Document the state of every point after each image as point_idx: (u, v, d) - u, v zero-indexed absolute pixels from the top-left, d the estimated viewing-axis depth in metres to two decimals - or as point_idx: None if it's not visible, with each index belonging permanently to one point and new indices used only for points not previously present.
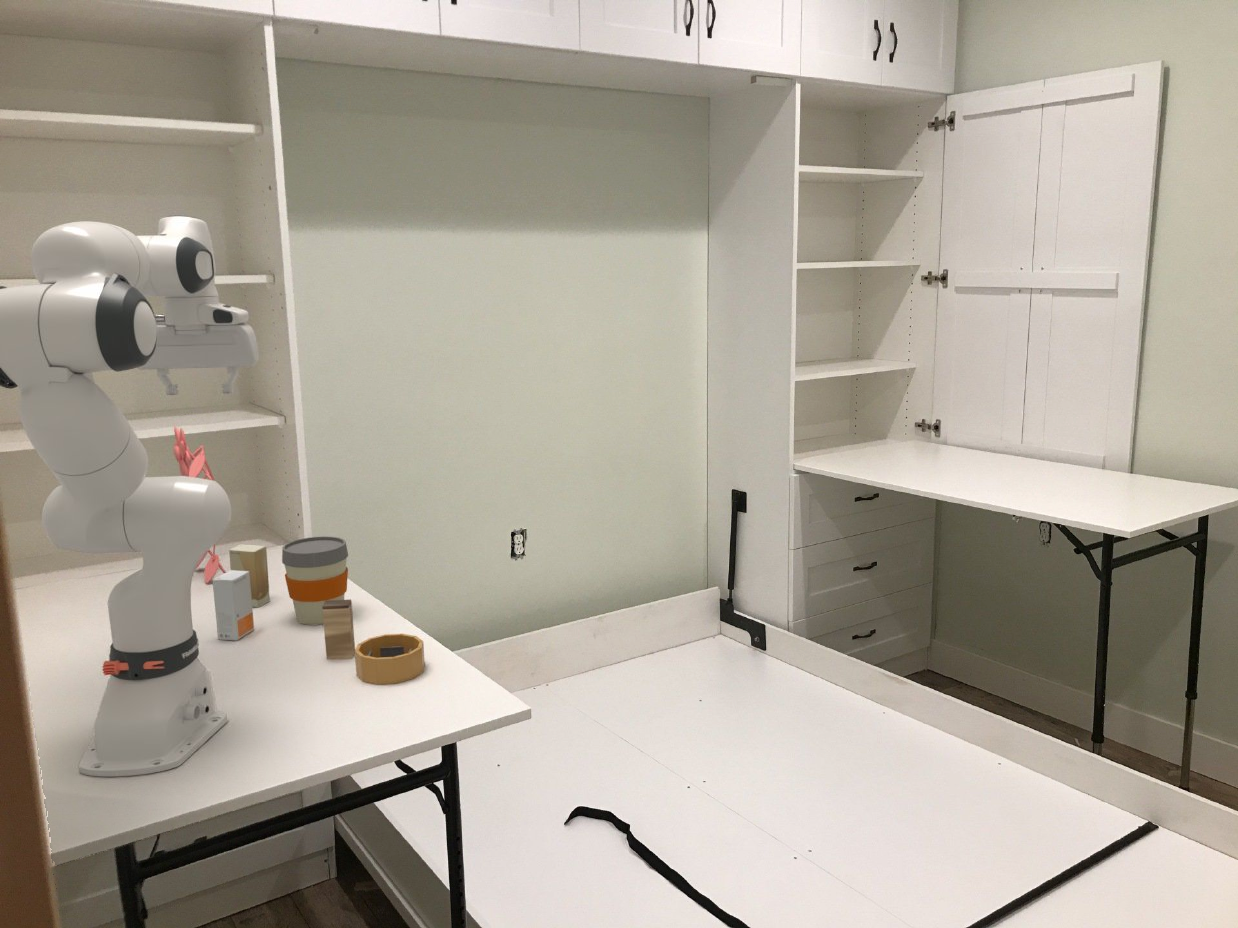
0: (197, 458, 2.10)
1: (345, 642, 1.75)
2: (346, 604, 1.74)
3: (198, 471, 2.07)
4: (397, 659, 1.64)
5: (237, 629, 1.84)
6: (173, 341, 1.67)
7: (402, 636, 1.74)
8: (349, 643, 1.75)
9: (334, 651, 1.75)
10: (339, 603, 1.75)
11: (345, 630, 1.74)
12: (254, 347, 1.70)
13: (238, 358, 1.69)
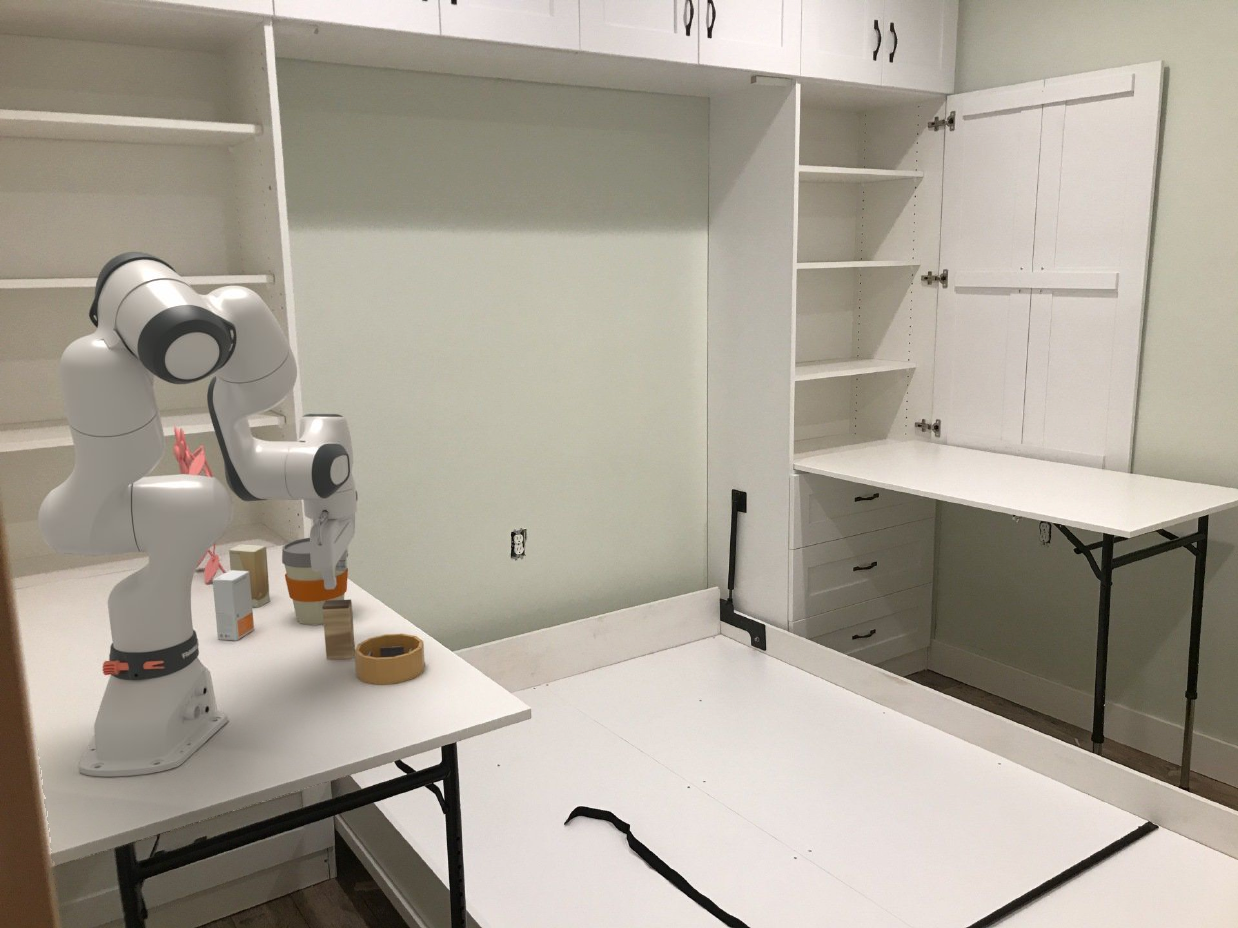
0: (197, 458, 2.10)
1: (345, 642, 1.75)
2: (346, 604, 1.74)
3: (198, 471, 2.07)
4: (397, 659, 1.64)
5: (237, 629, 1.84)
6: (337, 533, 1.69)
7: (402, 636, 1.74)
8: (349, 643, 1.75)
9: (334, 651, 1.75)
10: (339, 603, 1.75)
11: (345, 630, 1.74)
12: None
13: (352, 532, 1.80)
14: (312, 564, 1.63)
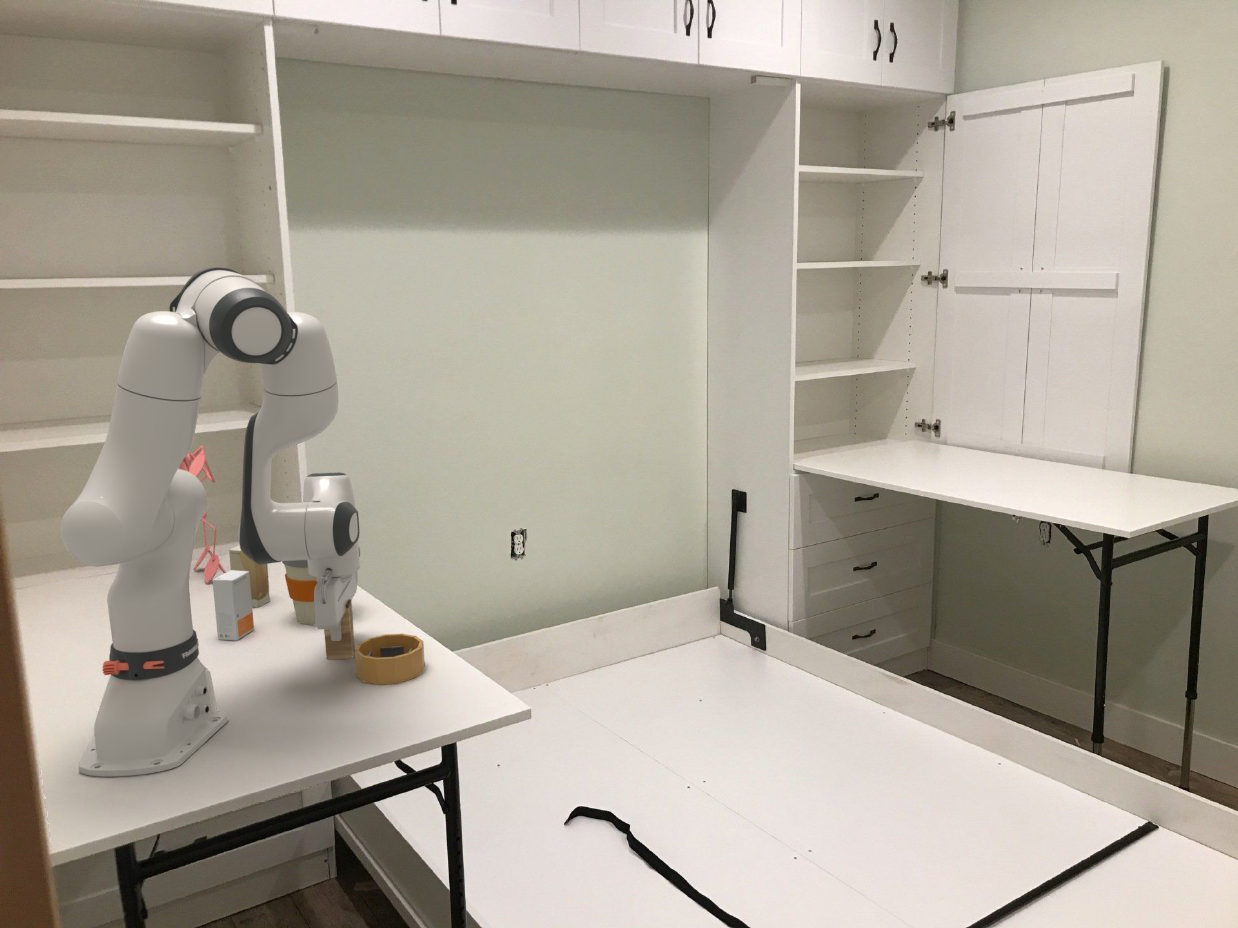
0: (197, 458, 2.10)
1: (345, 642, 1.75)
2: (346, 604, 1.74)
3: (198, 471, 2.07)
4: (397, 659, 1.64)
5: (237, 629, 1.84)
6: (340, 590, 1.71)
7: (402, 636, 1.74)
8: (349, 643, 1.75)
9: (334, 651, 1.75)
10: None
11: (345, 630, 1.74)
12: None
13: (354, 588, 1.82)
14: (316, 622, 1.65)
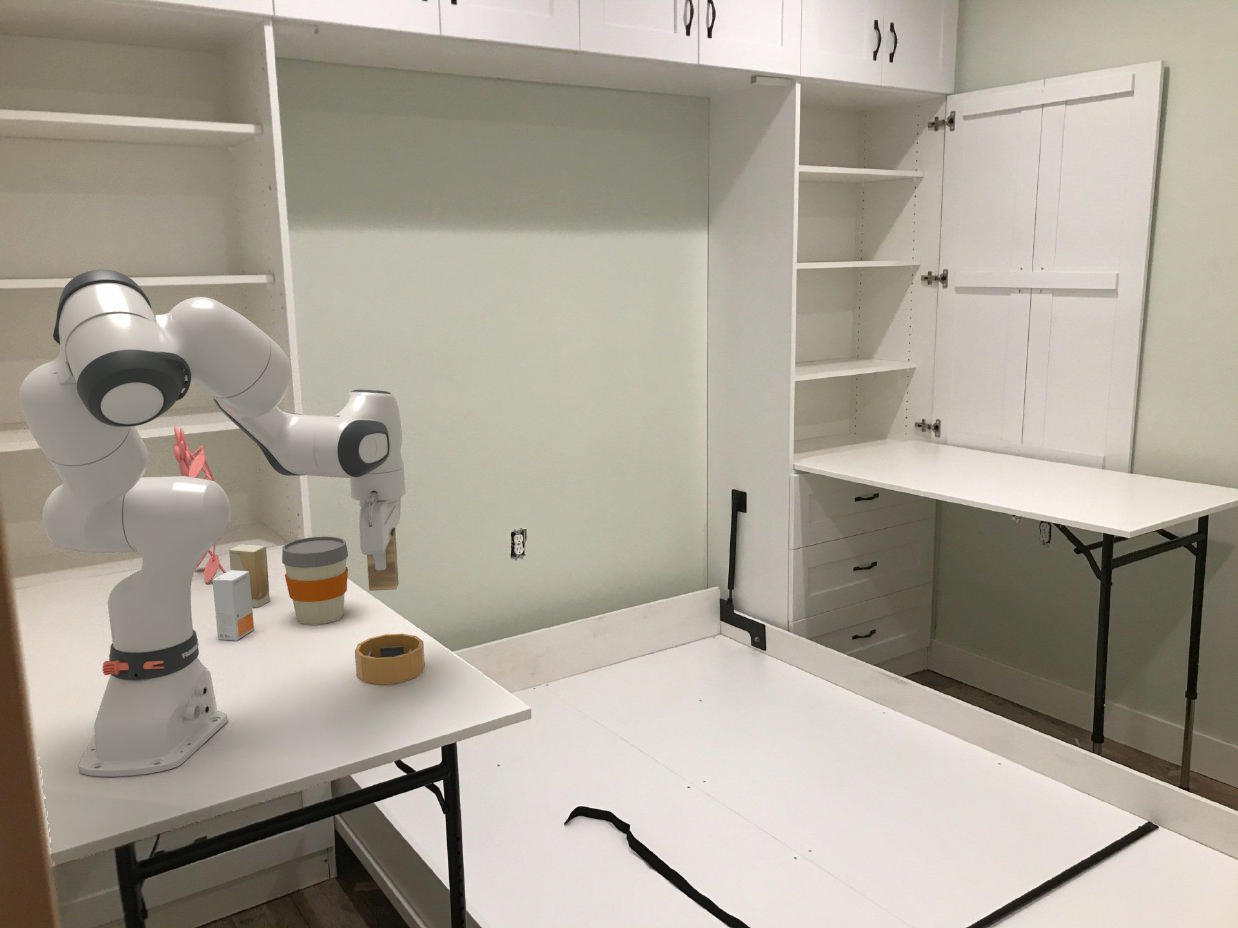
0: (197, 458, 2.10)
1: (389, 573, 1.65)
2: (391, 532, 1.64)
3: (198, 471, 2.07)
4: (397, 659, 1.64)
5: (237, 629, 1.84)
6: (386, 515, 1.61)
7: (402, 636, 1.74)
8: (393, 573, 1.65)
9: (377, 582, 1.65)
10: None
11: (389, 559, 1.65)
12: None
13: (397, 518, 1.72)
14: (362, 547, 1.55)
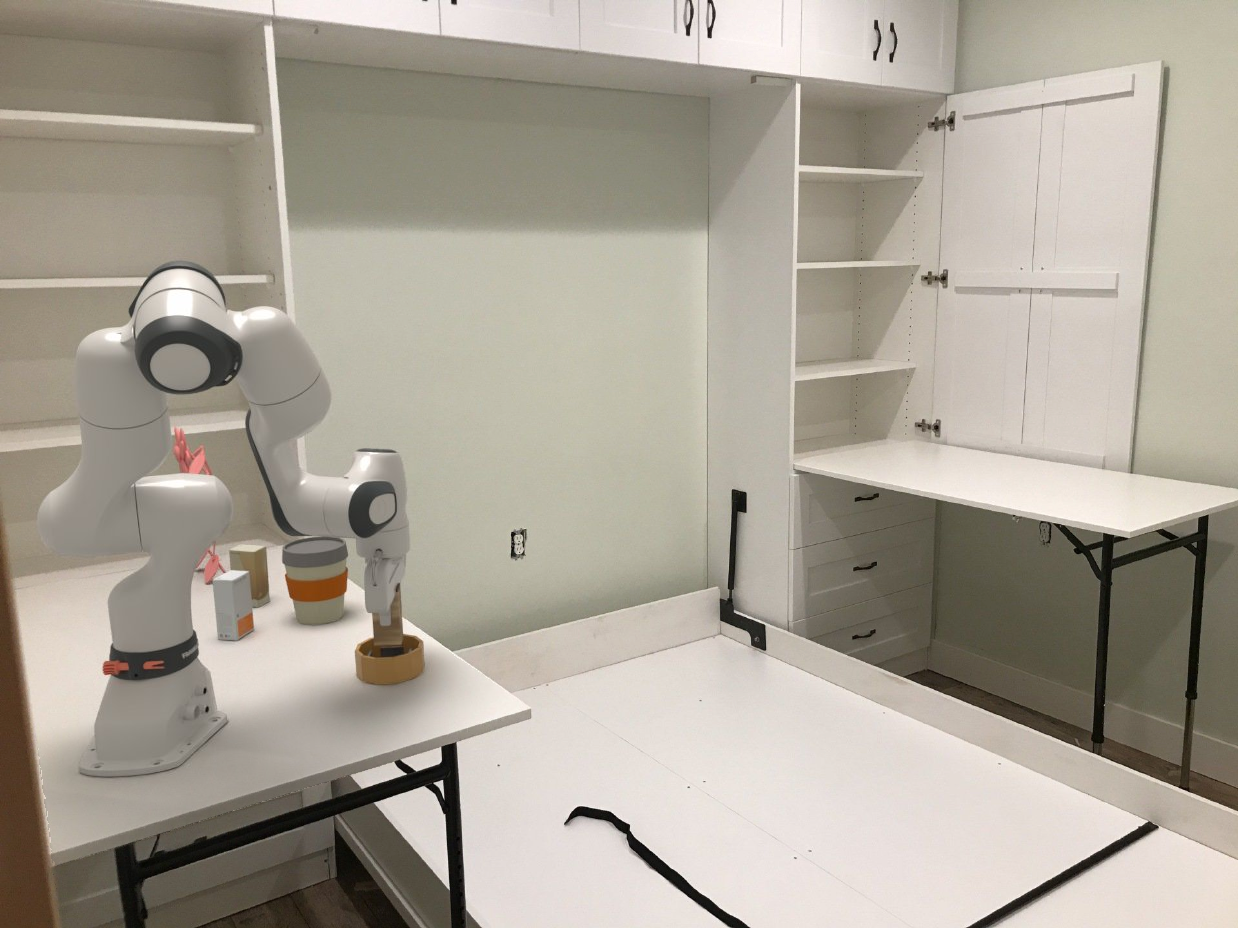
0: (197, 458, 2.10)
1: (394, 628, 1.67)
2: None
3: (198, 471, 2.07)
4: (397, 659, 1.64)
5: (237, 629, 1.84)
6: (391, 572, 1.63)
7: None
8: (398, 629, 1.67)
9: (382, 637, 1.67)
10: None
11: (394, 615, 1.66)
12: None
13: (403, 571, 1.74)
14: (366, 606, 1.57)
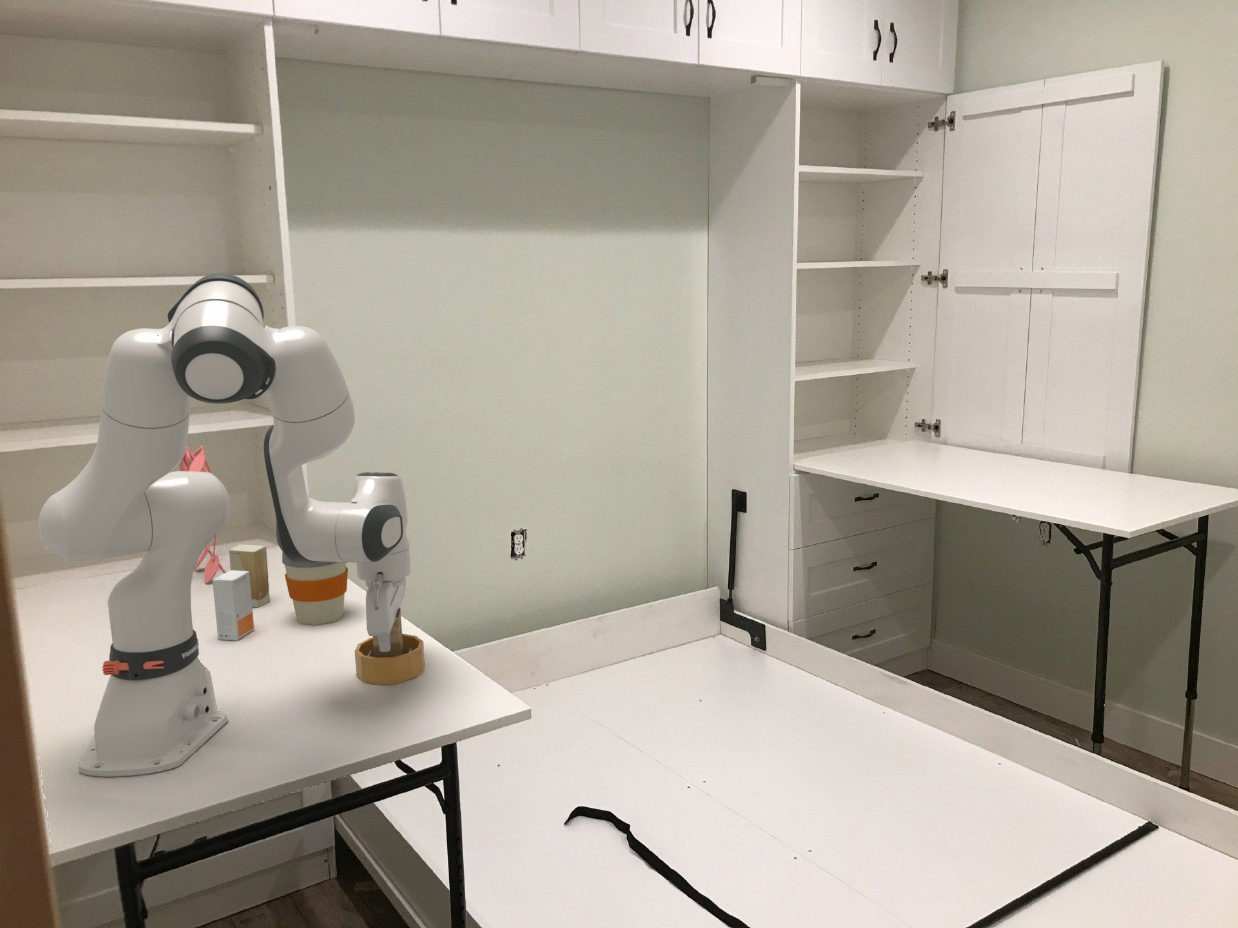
0: (197, 458, 2.10)
1: (395, 653, 1.68)
2: None
3: (198, 471, 2.07)
4: (397, 659, 1.64)
5: (237, 629, 1.84)
6: (391, 595, 1.64)
7: (402, 636, 1.74)
8: (399, 653, 1.68)
9: None
10: None
11: (395, 640, 1.67)
12: None
13: (402, 592, 1.75)
14: (368, 629, 1.58)
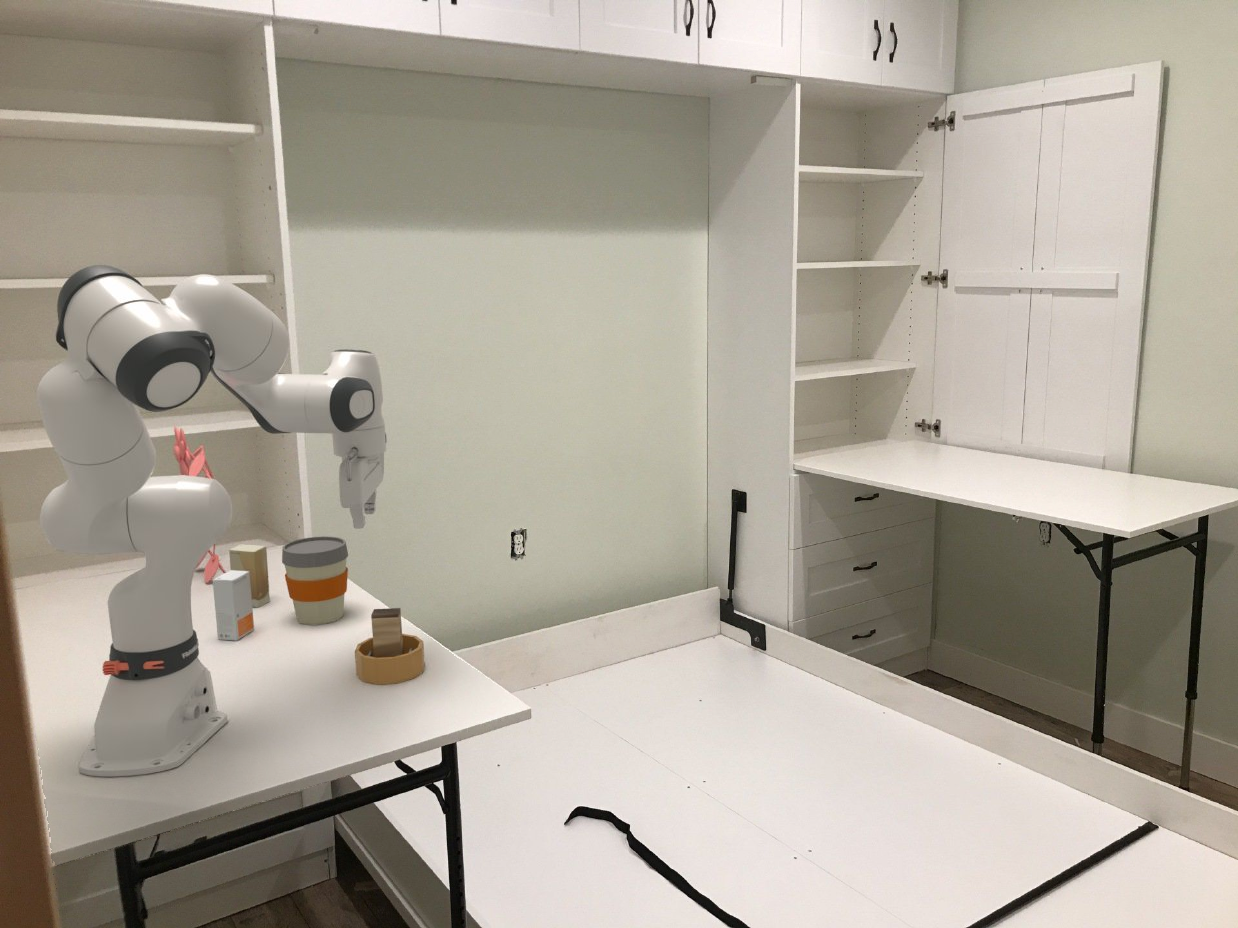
0: (197, 458, 2.10)
1: (395, 653, 1.68)
2: (396, 613, 1.67)
3: (198, 471, 2.07)
4: (397, 659, 1.64)
5: (237, 629, 1.84)
6: (366, 472, 1.67)
7: (402, 636, 1.74)
8: (399, 653, 1.68)
9: None
10: (388, 612, 1.67)
11: (395, 640, 1.67)
12: None
13: (380, 476, 1.78)
14: (341, 500, 1.61)
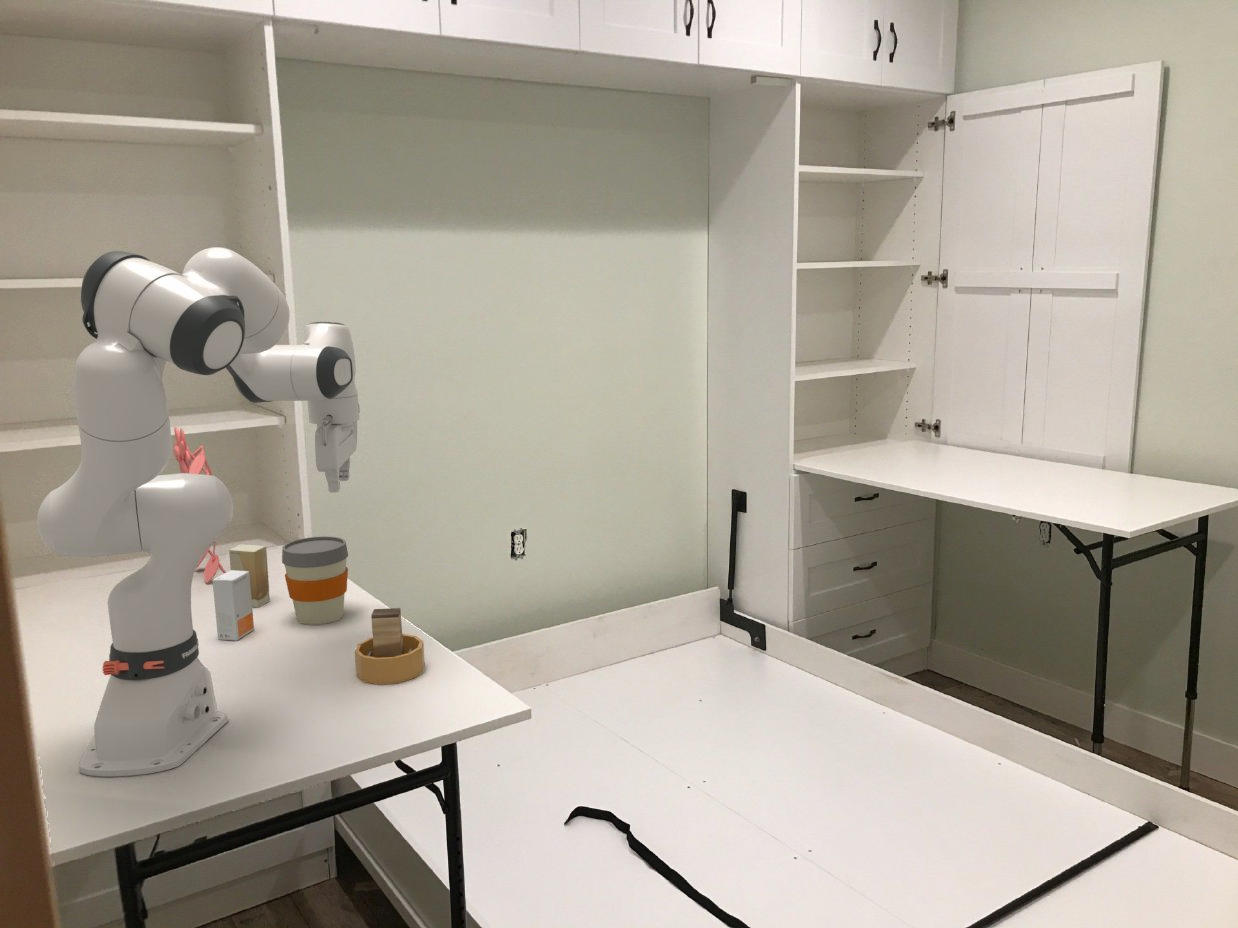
0: (197, 458, 2.10)
1: (395, 653, 1.68)
2: (396, 613, 1.67)
3: (198, 471, 2.07)
4: (397, 659, 1.64)
5: (237, 629, 1.84)
6: (340, 438, 1.76)
7: (402, 636, 1.74)
8: (399, 653, 1.68)
9: None
10: (388, 612, 1.67)
11: (395, 640, 1.67)
12: None
13: (354, 445, 1.87)
14: (317, 464, 1.70)
